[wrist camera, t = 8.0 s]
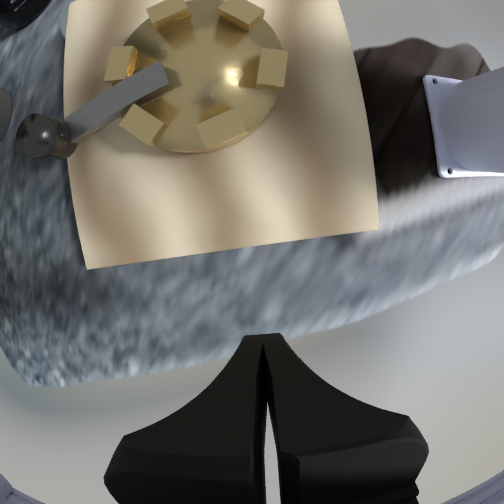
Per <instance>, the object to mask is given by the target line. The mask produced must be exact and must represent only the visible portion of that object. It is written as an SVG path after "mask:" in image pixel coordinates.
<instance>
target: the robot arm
mask: <svg viewBox="0 0 504 504" xmlns="http://www.w3.org/2000/svg"><path fill="white" fill-rule="evenodd" d="M433 80H434V81H435V84H434V83H433ZM423 84H424V88H425V93H426V97H427V102H428V107H429V112H430V118H431V124H432V130H433V136H434V143H435V151H436V159H437V169H438V174H439V176H440V177H442V178H453V177H490V176H504V67H501V68H498V69H495V70H493V71H490V72H487V73H484V74H481V75H478V76H476V77H473V78H470V79H468V80H465V81H462V80H456V79H451V78H445V77H439V76H432V75H426V76H424V77H423ZM448 168H449V170H450V172H449V173H448V171H447V170H448ZM267 402H268V407H269V412H270V418H271V423H272V428H273V433H274V439H275V444H276V450H277V458H278V472H279V486H280V500H281V504H419V503H418V500H417V498H416V496H418V494H419V490H418V487H417V485H416V483H415V480H416V478H417V476H418V475H419V473H420V471H421V469H422V467H423V465H424V463H425V461H426V459H427V456H428V453H429V449H428V444H427V443H426V441H425V439H424V438H423V436H422V434H421V432H420V431H419V429H418V428H417V427H416V425H415V424H414V423H413V422H412V420H411V419H410V418H409V416H407V415H403V414H399V413H395V412H391V411H387V410H383V409H380V408H377V407H374V406H372V405H369V404H367V403H364V402H361V401H359V400H357V399H355V398H353V397H350V396H349V395H347V394H345V393H343V392H341V391H340V390H338V389H336V388H334V387H333V386H331V385H330V384H328V383H327V382H326V381H324V380H323V379H322V378H320V377H319V376H318V375H317V374H316V373H314V372H313V371H312V370H311V369H310V368H309V367H308V366H307V365H306V364H305V363H304V362H303V361H302V360H301V359H300V358H299V357H298V356H297V355H296V354H295V353H294V351H293V350H292V349H291V348H290V346H289V345H288V343H287V342H286V341H285V339H284V337H283V336H282V335H281V334H280V333H272V334H260V335H246V336H244V337H243V339H242V341H241V343H240V345H239V346H238V348H237V350H236V351H235V353H234V355H233V356H232V357H231V359H230V360H229V362H228V363H227V365H226V366H225V367H224V369H223V370H222V371H221V372H220V373H219V375H218V376H217V377H216V378H215V379H214V380H213V382H212V383H211V384H210V385H209V386H208V387H207V388H206V389H205V390H203V391H202V392H201V394H199V395H198V396H197V397H196V398H194V399H193V400H191V401H190V402H189V403H187V404H186V405H185V406H183V407H182V408H181V409H179V410H178V411H176V412H174V413H173V414H171V415H169V416H167V417H166V418H164V419H162V420H160V421H158V422H156V423H154V424H152V425H150V426H147V427H145V428H143V429H140V430H138V431H135V432H133V433H130V434H127V435H125V436H123V438H122V440H121V441H120V443H119V445H118V446H117V448H116V450H115V452H114V454H113V457H112V459H111V461H110V464H109V466H108V468H107V471H106V473H105V475H104V484H105V486H106V487H107V489H108V491H109V492H110V494H111V495H112V496H113V497H114V499H115V500H116V501H117V502H118V503H119V504H266V487H265V464H264V446H265V432H266V416H267ZM0 504H45V503H42V502H40V501H38V500H36V499H34V498H32V497H30V496H28V495H26V494H24V493H22V492H20V491H18V490H16V489H14V488H13V487H12V486H11V484H10V483H9V482H8V481H7V480H6V479H5V478H4V477H3V476H2V475H1V474H0ZM442 504H504V470H503V471H502V472H500V473H499V474H497V475H495V476H494V477H492V478H490V479H489V480H487V481H485V482H483V483H482V484H480V485H478V486H476V487H474V488H472V489H471V490H469V491H467V492H465V493H463V494H461V495H459V496H457V497H455V498H452V499H450V500H449V501H446V502H444V503H442Z"/></svg>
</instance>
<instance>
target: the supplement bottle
mask: <svg viewBox="0 0 504 504" xmlns="http://www.w3.org/2000/svg"><path fill="white" fill-rule="evenodd" d="M50 2H51V0H0V24H1V25H3V26H5V27H7V28H9V29H18V28H21V27H23V26H25V25H27V24H29V23H30V22H32V21H33V20H34V19H35V18H36V17H38V16H39V15H40V14H41V13H42V12H43V11H44V9H45V8H46V7H47V6H48V4H49V3H50Z"/></svg>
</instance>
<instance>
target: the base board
mask: <svg viewBox="0 0 504 504" xmlns="http://www.w3.org/2000/svg"><path fill="white" fill-rule="evenodd" d="M162 1H164V0H76V1H74V2H72V3H70V5H69V12H68V20H67V29H66V40H65V55H64V119H65V118H66V117H67V116H69V115H70V114H72V113H73V112H74V111H76V110H77V109H79V108H80V107H82V106H83V105H84V104H86V103H87V102H89V101H90V100H92V99H93V98H95V97H97V96H98V95H100V94H101V93H103V92H104V91H106V90H108V89H109V88H111V87H112V85H109V84H108V83H106V82H104V76H105V72H106V68H107V64H108V60H109V56H110V52H111V48H113V47H122V46H123V45H124V44H125V42H126V40H127V39H128V38H129V37H130V35H131V34H132V33H133V32H134V31H135V30H136V29H137V28H138V27H139V26H140V25H141V24H142V23H143V22H145V21H146V20H147V19H148V18H149V15H148V13H147V11H146V9H147V8H149V7H151V6H153V5H155V4H158V3H160V2H162ZM184 1H185V2H186V1H192V0H184ZM224 1H226V0H224ZM247 1H249V2H251V3H253V4H255V5H257V6H258V7H260V8H262V9H264V10H265V12H264V18H263V19H264V20H265V21H266V22H267V23H268V24H269V25H270V26H271V27H272V29H273V30H274V32H275V33H276V35H277V37H278V39H279V41H280V43H281V46H282V49H283V51H288V58H287V66H286V74H285V82H284V88H283V91H282V92H280V93H279V96H278V99H277V102H276V104H275V106H274V108H273V110H272V112H271V113H270V115H269V116H268V117H267V119H266V120H265V121H264V123H263V124H262V125H261V126H260V127H259V128H258V129H257V130H256V131H254V132H253V133H252V134H251V135H250V136H248V137H247V138H245V139H244V140H242V141H240V142H239V143H236V144H234V145H232V146H230V147H228V148H225V149H222V150H219V151H214V152H210V153H202V154H186V153H179V152H174V151H171V150H167V149H164V148H161V147H158V146H156V145H154V147H152V146H149V145H147V144H145V143H144V142H143V141H141V140H140V139H138V138H137V137H136V136H134V135H133V134H131V133H130V132H128V131H127V130H126V129H124V128H123V127H121V126H120V125H119V124H120V122H121V121H122V118H121V117H119V118H118V119H116V120H114V121H113V122H111V123H109V124H108V125H106V126H105V127H103V128H101V129H100V130H98V131H97V132H95V133H94V134H92V135H91V136H89V137H88V138H86V139H85V140H83V141H82V142H80V143H79V144H78V146H77V148H76V150H75V152H74V153H73V154H72V155H71V156H70V157H68V158H67V162H68V171H69V179H70V186H71V193H72V199H73V205H74V211H75V217H76V222H77V227H78V232H79V237H80V242H81V246H82V251H83V255H84V259H85V263H86V268H87V270H89V269H95V268H102V267H109V266H116V265H123V264H130V263H137V262H144V261H151V260H158V259H165V258H172V257H179V256H186V255H193V254H201V253H208V252H215V251H222V250H229V249H236V248H244V247H251V246H258V245H266V244H273V243H280V242H288V241H295V240H302V239H310V238H317V237H325V236H332V235H339V234H347V233H354V232H362V231H370V230H377V229H379V214H378V201H377V190H376V180H375V171H374V163H373V155H372V147H371V140H370V134H369V128H368V122H367V116H366V110H365V105H364V100H363V94H362V90H361V85H360V80H359V76H358V71H357V67H356V63H355V59H354V55H353V51H352V47H351V43H350V39H349V36H348V32H347V29H346V25H345V22H344V19H343V15H342V12H341V9H340V6H339V3H338V0H247Z"/></svg>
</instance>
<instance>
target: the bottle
mask: <svg viewBox="0 0 504 504" xmlns="http://www.w3.org/2000/svg"><path fill="white" fill-rule="evenodd" d="M11 113H12V99H11V95H10V93H9V92H8V91H7V90H6V89H3V88H0V140H1V139H2V137H3V136H4V134H5V132H6V130H7V128H8V125H9V122H10V118H11Z"/></svg>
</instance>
